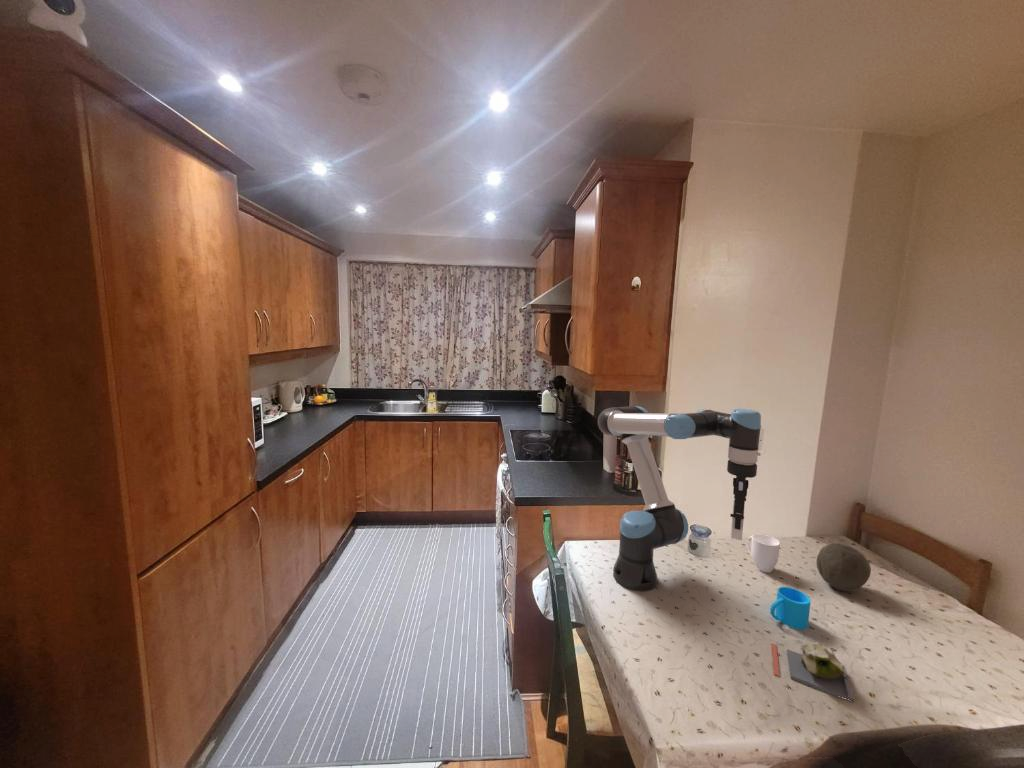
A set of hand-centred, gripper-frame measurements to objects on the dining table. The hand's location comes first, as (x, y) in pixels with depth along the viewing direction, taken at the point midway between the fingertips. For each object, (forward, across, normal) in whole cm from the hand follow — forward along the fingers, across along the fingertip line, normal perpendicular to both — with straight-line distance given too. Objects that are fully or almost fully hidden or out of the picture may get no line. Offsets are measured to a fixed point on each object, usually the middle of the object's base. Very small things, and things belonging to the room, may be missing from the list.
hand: (736, 529), depth 114 cm
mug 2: (+29, +8, -15) cm, 34 cm away
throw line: (+29, -12, -11) cm, 33 cm away
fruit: (+28, -12, -21) cm, 36 cm away
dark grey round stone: (+29, +39, -33) cm, 59 cm away
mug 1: (+29, +38, -9) cm, 49 cm away
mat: (+29, -12, -20) cm, 37 cm away
